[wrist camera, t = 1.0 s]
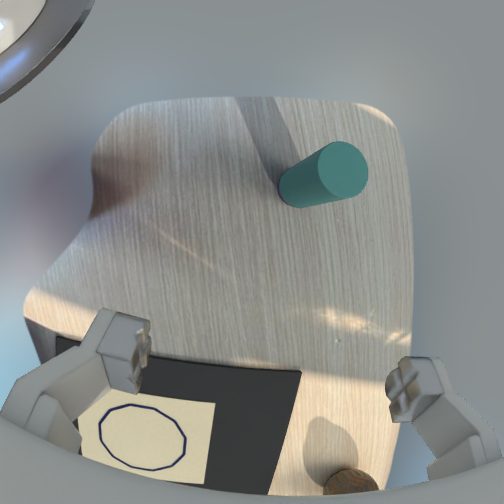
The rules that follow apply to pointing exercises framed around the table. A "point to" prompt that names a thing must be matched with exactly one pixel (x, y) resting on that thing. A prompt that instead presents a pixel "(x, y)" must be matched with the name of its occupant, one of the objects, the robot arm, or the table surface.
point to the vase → (350, 483)
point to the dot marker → (325, 176)
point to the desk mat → (193, 424)
